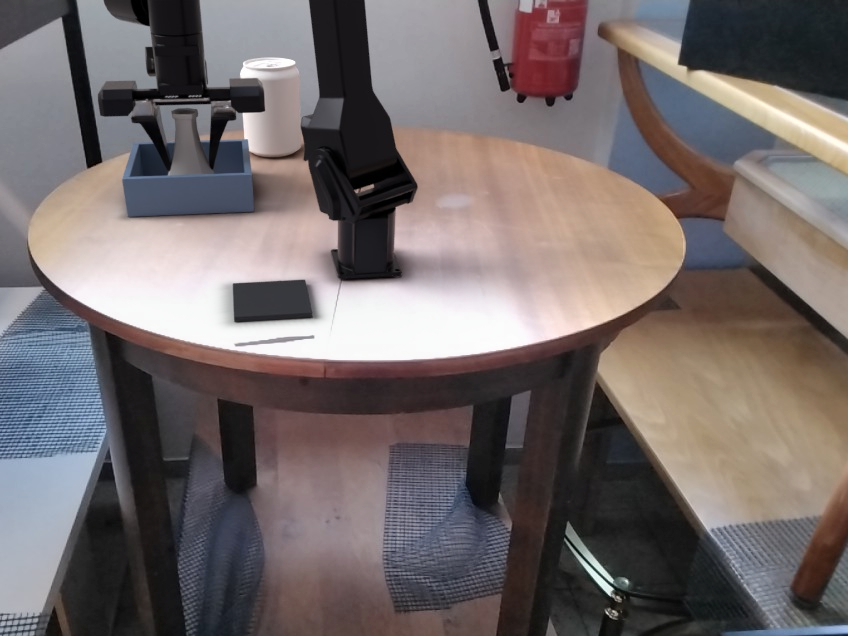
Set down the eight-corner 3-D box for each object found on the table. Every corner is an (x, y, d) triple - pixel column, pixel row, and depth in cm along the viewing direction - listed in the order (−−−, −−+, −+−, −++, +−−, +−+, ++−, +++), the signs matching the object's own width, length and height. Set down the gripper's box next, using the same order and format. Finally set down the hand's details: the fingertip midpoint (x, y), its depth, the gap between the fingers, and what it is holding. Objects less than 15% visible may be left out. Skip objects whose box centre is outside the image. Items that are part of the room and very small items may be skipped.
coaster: (312, 317, 71) (312, 312, 71) (234, 322, 70) (233, 317, 70) (305, 283, 77) (305, 279, 77) (233, 287, 76) (232, 283, 76)
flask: (228, 185, 101) (222, 104, 96) (214, 204, 95) (206, 120, 90) (173, 182, 102) (163, 102, 96) (155, 202, 96) (144, 118, 90)
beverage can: (236, 156, 112) (229, 66, 105) (258, 140, 118) (253, 55, 112) (289, 161, 110) (286, 70, 103) (309, 145, 116) (307, 59, 110)
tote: (254, 211, 93) (251, 174, 91) (127, 217, 91) (121, 179, 89) (249, 172, 105) (247, 138, 103) (138, 176, 104) (133, 142, 101)
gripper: (257, 19, 96) (263, 148, 105) (99, 21, 94) (119, 152, 102) (261, 35, 87) (268, 174, 95) (86, 38, 85) (109, 180, 93)
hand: (190, 169), depth 97 cm, fingers closed on flask, 5 cm apart
